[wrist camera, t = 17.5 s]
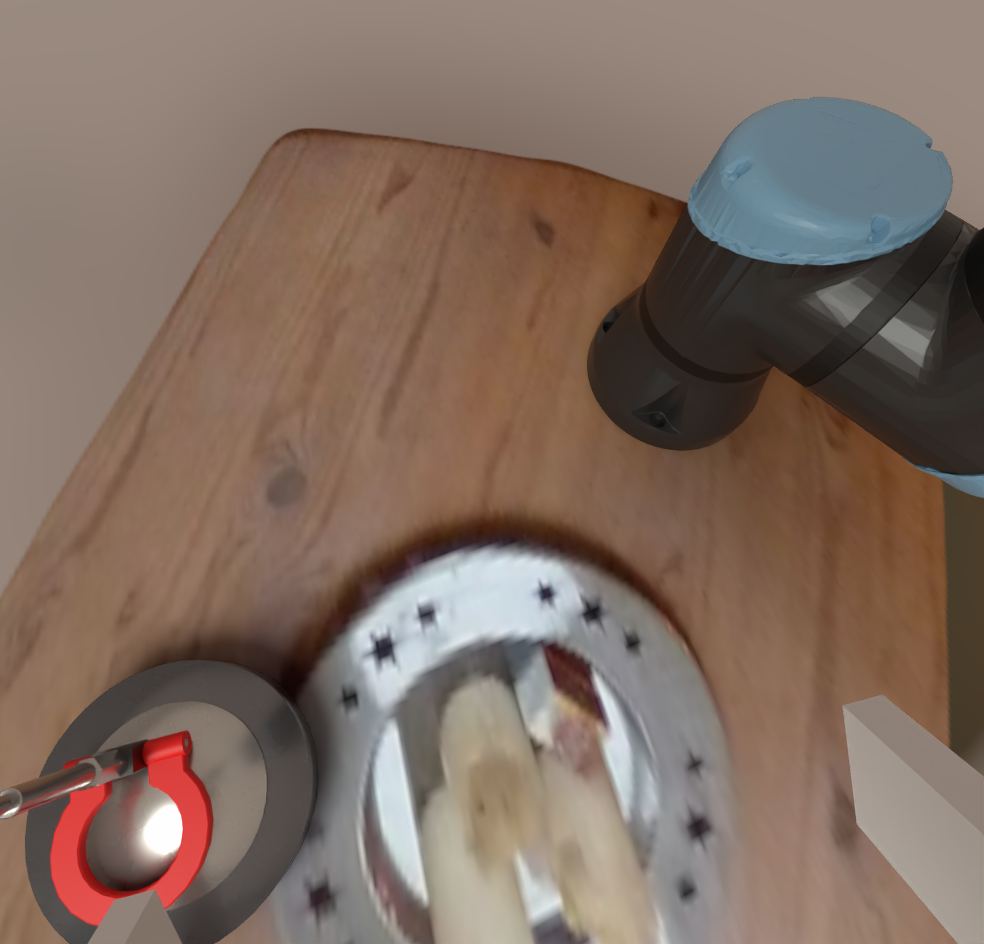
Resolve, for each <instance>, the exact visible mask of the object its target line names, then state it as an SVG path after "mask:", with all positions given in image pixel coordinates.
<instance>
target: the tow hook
mask: <svg viewBox="0 0 984 944" xmlns="http://www.w3.org/2000/svg"><path fill="white" fill-rule="evenodd" d="M191 747H192V739H191V735H190V733H189V731H188V730H185V731H181V732H178V733H174V734H170V735H166V736H162V737H159V738H155V739H151V740H148V739H145V740H141V741H137V742H133V743H130V744H126V745H122V746H118V747H114V748H111V749H108V750H105V751H101V752H98V753H95V754H93V755H90V756H87V757H83V758H79V759H75V760H72V761H68V762H67V763H66V764H65V765H64V767H63V770H61V771H58V772H55V773H52V774H49V775H46V776H43V777H40V778H37V779H34V780H31V781H28V782H25V783H22V784H19V785H16V786H13V787H10V788H7V789H4V790H2V791H1V792H0V819H8V818H11V817H13V816H16V815H18V814H21V813H23V812H25V811H28V810H30V809H33V808H35V807H38V806H40V805H43V804H45V803H47V802H50V801H52V800H55V799H57V798H60V797H62V796H65V795H67V794H70V803H69V804H68V805H67V807H66V808H65V810H64V811H63V813H62V816H61V818H60V820H59V823H58V825H57V827H56V830H55V832H54V836H53V842H52V847H51V853H50V864H51V878H52V881H53V883H54V886H55V889H56V891H57V894H58V897H59V898H60V900H61V901H62V902H63V904H64V905H65V906H66V907H67V909H68V910H69V911H70V912H71V913H72V914H73V915H75V916H76V917H78V918H80V919H81V920H83V921H84V922H86V923H88V924H91V925H95V926H99V924H100V923H101V921H102V920H103V918H104V916H105V915H106V913H107V911H108V910H109V908H110V907H111V905H112V903H113V902H114V900H117V899H120V898H124V897H128V896H132V895H135V894H139V893H143V892H147V891H150V890H154V889H155V890H156V892H157V894H158V896H159V898H160V900H161V902H162V904H163V906H164V908H165V909H166V908H168V907H169V906H171V905H172V904H173V903H174V902H175V901H176V900H177V899H178V898H179V897H180V895H181V894H182V893H183V892H184V891H185V890H186V889H187V888H188V887H189V886H190V885H191V884H192V882H193V881H194V879H195V877H196V876H197V874H198V872H199V871H200V869H201V868H202V866H203V864H204V862H205V859H206V856H207V853H208V850H209V847H210V845H211V841H212V832H213V823H214V819H213V812H212V805H211V799H210V797H209V795H208V793H207V790H206V788H205V786H204V783H203V782H202V781H201V780H200V779H199V777H198V776H197V775H196V774H195V773H194V772H193V770H192V769H190V768H189V759H188V754H189V753H190V751H191ZM145 768H148V776H149V784H150V785H151V786H152V787H154V788H158V789H159V790H161V791H163V792H164V793H166V794H168V795H169V796H170V798H171V799H172V800H173V801H174V802H175V804H176V805H177V808H178V810H179V813H180V815H181V821H182V837H181V844H180V847H179V850H178V852H177V855H176V858H175V859H174V861H173V863H172V864H171V866H170V867H169V869H168V871H167V872H166V873H165V874H164V875H163V876H162V877H161V878H160V879H159V880H157V881H156V882H154V883H152V884H151V885H149V886H147V887H144V888H141V889H138V890H135V891H118V890H114V889H110V888H108V887H107V886H105V885H103V884H102V883H100V882H99V881H98V880H97V879H96V877H95V876H94V875H93V874H92V872H91V870H90V867H89V865H88V862H87V858H86V840H87V834H88V830H89V828H90V826H91V823H92V821H93V818H94V817H95V815H96V814H97V812H98V811H99V809H100V808H101V806H102V805H103V804H104V803H105V802H106V801H107V800H108V799H110V797H111V795H112V793H113V790H112V780H113V779H117V778H121V777H125V776H128V775H131V774H134V773H136V772H138V771H141V770H143V769H145Z"/></svg>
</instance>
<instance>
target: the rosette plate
mask: <svg viewBox="0 0 984 944" xmlns="http://www.w3.org/2000/svg"><path fill="white" fill-rule="evenodd" d="M185 730H188V731H189V733H190V735H191V739H192V747H191V751H190V753H189V754H188V759H189V768H190V769H192V770H193V772H194V773H195V774H196V775H197V776H198V777H199V779H200V780H201V781H202V782H203V783H204V786H205V788H206V790H207V793H208V795H209V797H210V799H211V805H212V812H213V819H214V823H213V832H212V841H211V845H210V847H209V850H208V853H207V856H206V859H205V862H204V864H203V866H202V868H201V869H200V871H199V872H198V874H197V876H196V877H195V879H194V881H193V882H192V884H191V885H190V886H189V887H188V888H187V889H186V890H185V891H184V892H183V893H182V894H181V895H180V897H179V898H178V899H177V900H176V901H175V902H174V903H173V904H172V905H171V906H169V907H168V908H166V909H165V910H166V912H167V914H168V916H169V918H170V920H171V922H172V924H173V926H174V928H175V930H176V932H177V934H178V936H179V938H180V940H181V942H182V944H214V943H216V942H218V941H219V940H221V939H222V938H224V937H225V936H227V935H228V934H229V933H231V932H232V931H234V930H235V929H236V928H237V927H239V926H240V925H241V924H242V923H243V922H244V921H245V920H246V919H247V918H249V917H250V916H251V915H252V914H253V913H254V912H255V911H256V909H257V908H258V907H259V906H260V905H261V904H262V903H263V902H264V901H265V899H266V898H267V897H268V896H269V894H270V893H271V892H272V890H273V889H274V888H275V886H276V885H277V884H278V882H279V881H280V880H281V878H282V877H283V875H284V874H285V873H286V871H287V870H288V868H289V867H290V865H291V864H292V862H293V860H294V858H295V857H296V855H297V853H298V851H299V849H300V847H301V845H302V843H303V840H304V838H305V836H306V833H307V831H308V828H309V825H310V821H311V818H312V815H313V811H314V805H315V800H316V795H317V781H318V770H317V756H316V751H315V745H314V741H313V738H312V735H311V731H310V728H309V726H308V724H307V721H306V719H305V717H304V715H303V713H302V711H301V710H300V708H299V707H298V705H297V704H296V702H295V701H294V700H293V698H292V697H291V696H290V695H289V694H288V693H287V692H286V691H285V690H284V689H283V688H282V687H281V686H280V685H279V684H277V683H276V682H275V681H274V680H272V679H271V678H269V677H268V676H266V675H264V674H263V673H261V672H259V671H257V670H254V669H252V668H249V667H247V666H244V665H239V664H235V663H231V662H222V661H211V660H184V661H177V662H171V663H166V664H163V665H159V666H156V667H152V668H149V669H147V670H144V671H142V672H140V673H137V674H135V675H133V676H131V677H129V678H127V679H125V680H124V681H122V682H120V683H118V684H116V685H115V686H114V687H112V688H111V689H109V690H108V691H106V692H105V693H104V694H102V695H101V696H100V697H98V698H97V699H96V700H95V701H94V702H93V703H92V704H90V705H89V706H88V707H87V708H86V709H85V710H84V711H83V712H82V713H81V714H80V715H79V716H78V717H77V718H76V719H75V720H74V722H73V723H72V724H71V725H70V726H69V728H68V729H67V730H66V732H65V733H64V734H63V735H62V737H61V738H60V739H59V741H58V742H57V744H56V746H55V747H54V749H53V751H52V752H51V754H50V756H49V757H48V759H47V761H46V763H45V765H44V767H43V770H42V772H41V774H40V776H39V778H40V777H43V776H46V775H49V774H52V773H55V772H58V771H61V770H63V767H64V765H65V764H66V763H67V762H68V761H72V760H75V759H79V758H83V757H87V756H90V755H93V754H95V753H98V752H101V751H105V750H108V749H111V748H114V747H118V746H122V745H126V744H130V743H133V742H137V741H141V740H145V739H148V740H151V739H155V738H159V737H162V736H166V735H170V734H174V733H178V732H181V731H185ZM112 790H113V793H112V795H111V797H110V799H108V800H107V801H106V802H105V803H104V804H103V805H102V806H101V808H100V809H99V811H98V812H97V814H96V815H95V817H94V818H93V821H92V823H91V826H90V828H89V830H88V834H87V840H86V858H87V862H88V865H89V867H90V870H91V872H92V874H93V875H94V876H95V877H96V879H97V880H98V881H99V882H100V883H102V884H103V885H105V886H107V887H108V888H110V889H114V890H118V891H135V890H138V889H141V888H144V887H147V886H149V885H151V884H152V883H154V882H156V881H157V880H159V879H160V878H161V877H162V876H163V875H164V874H165V873H166V872H167V871H168V869H169V867H170V866H171V864H172V863H173V861H174V859H175V858H176V855H177V852H178V850H179V847H180V844H181V837H182V821H181V815H180V813H179V810H178V808H177V805H176V804H175V802H174V801H173V800H172V799H171V798H170V796H169V795H168V794H166V793H164V792H163V791H161V790H159V789H158V788H154V787H152V786H151V785H150V784H149V776H148V768H145V769H143V770H141V771H138V772H136V773H134V774H131V775H128V776H125V777H121V778H117V779H113V780H112ZM69 803H70V794H67V795H65V796H62V797H60V798H57V799H55V800H52V801H50V802H47V803H45V804H43V805H40V806H38V807H35V808H33V809H30V810H29V812H28V817H27V825H26V835H25V853H26V864H27V870H28V876H29V881H30V884H31V887H32V890H33V893H34V896H35V899H36V901H37V903H38V905H39V907H40V908H41V910H42V912H43V914H44V916H45V917H46V919H47V920H48V921H49V923H50V924H51V925H52V927H53V928H54V929H55V930H56V931H57V932H58V933H59V934H60V935H61V936H62V937H63V938H64V939H65V940H66V941H67V942H68V943H70V944H88V942H89V941H90V939H91V937H92V936H93V934H94V932H95V931H96V929H97V928H98V926H95V925H91V924H88V923H86V922H84V921H83V920H81V919H80V918H78V917H76V916H75V915H73V914H72V913H71V912H70V911H69V910H68V909H67V907H66V906H65V905H64V904H63V902H62V901H61V900H60V898H59V897H58V894H57V891H56V889H55V886H54V883H53V881H52V878H51V864H50V853H51V847H52V842H53V836H54V832H55V830H56V827H57V825H58V823H59V820H60V818H61V816H62V813H63V811H64V810H65V808H66V807H67V805H68V804H69Z"/></svg>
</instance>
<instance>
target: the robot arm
mask: <svg viewBox="0 0 984 944" xmlns="http://www.w3.org/2000/svg"><path fill="white" fill-rule="evenodd" d="M931 145H932V139H931V138H930V137H929V136H928V135H927V134H926V133H924V132H923V131H922V130H921V129H919V128H918V127H917V126H915V125H914V124H912V123H910V122H908V121H907V120H906V119H904V118H902V117H900V116H898V115H896V114H894V113H891V112H889V111H887V110H885V109H882V108H879V107H876V106H873V105H870V104H866V103H862V102H859V101H854V100H847V99H840V98H830V97H813V98H810V99H794V100H788V101H784V102H780V103H777V104H774V105H771V106H769V107H766V108H764V109H762V110H760V111H758V112H756V113H754V114H752V115H751V116H749V117H748V118H746V119H745V120H744V121H743V122H741V123H740V124H739V125H738V126H737V127H736V128H735V129H734V130H733V131H732V132H731V133H730V134H729V136H728V137H727V138H726V139H725V141H724V142H723V144H722V145H721V147H720V148H719V150H718V152H717V153H716V155H715V157H714V158H713V160H712V161H711V163H710V164H709V166H708V168H707V169H706V171H705V172H704V173H703V174H702V175H701V176H700V177H699V178H698V179H697V181H696V182H695V184H694V186H693V188H692V190H691V195H690V197H689V199H688V203H687V205H686V207H685V209H684V211H683V212H682V214H681V216H680V218H679V220H678V222H677V224H676V226H675V227H674V229H673V231H672V233H671V235H670V237H669V239H668V241H667V243H666V244H665V246H664V248H663V250H662V252H661V254H660V256H659V258H658V259H657V261H656V263H655V265H654V267H653V269H652V271H651V273H650V275H649V276H648V278H647V280H646V282H645V283H644V284H643V285H641V286H640V287H639V288H637V289H636V290H635V291H634V292H632V293H631V294H630V295H628V296H627V297H626V298H625V299H623V300H622V301H621V302H620V303H618V304H617V305H616V306H615V307H613V308H612V309H611V310H610V312H609V313H608V314H607V315H606V316H605V318H604V319H603V321H602V322H601V324H600V326H599V327H598V330H597V332H596V334H595V336H594V338H593V340H592V342H591V345H590V348H589V352H588V360H587V369H588V377H589V381H590V385H591V388H592V391H593V393H594V395H595V397H596V399H597V401H598V403H599V404H600V406H601V408H602V409H603V410H604V412H605V413H606V414H607V415H608V417H609V418H610V419H611V420H612V421H613V422H614V423H615V424H616V425H618V426H619V427H620V428H621V429H622V430H624V431H625V432H627V433H628V434H630V435H631V436H633V437H635V438H637V439H638V440H640V441H643V442H645V443H647V444H650V445H653V446H656V447H660V448H664V449H670V450H693V449H699V448H703V447H707V446H709V445H712V444H714V443H716V442H718V441H720V440H722V439H723V438H725V437H726V436H727V435H728V434H730V433H731V432H732V431H733V430H735V429H736V428H737V427H738V426H739V425H740V424H742V423H743V422H744V420H745V419H746V418H747V417H748V416H749V414H750V413H751V412H752V410H753V408H754V407H755V405H756V402H757V400H758V397H759V394H760V392H761V390H762V387H763V385H764V383H765V381H766V379H767V376H768V374H769V372H770V369H771V368H772V367H773V366H775V367H776V368H778V369H779V370H780V371H782V372H783V373H785V374H787V375H788V376H790V377H791V378H792V379H794V380H795V381H797V382H798V383H800V384H801V385H802V386H804V387H805V388H807V389H808V390H810V391H811V392H812V393H814V394H815V395H817V396H818V397H820V398H821V399H822V400H824V401H825V402H827V403H828V404H829V405H831V406H832V407H834V408H835V409H836V410H838V411H839V412H841V413H842V414H843V415H845V416H846V417H848V418H849V419H851V420H852V421H853V422H855V423H856V424H858V425H859V426H860V427H862V428H863V429H865V430H866V431H867V432H869V433H870V434H872V435H873V436H874V437H876V438H877V439H879V440H880V441H882V442H883V443H884V444H886V445H887V446H889V447H890V448H891V449H893V450H894V451H896V452H897V453H898V454H900V455H901V456H903V458H904V459H905V460H906V461H907V462H909V463H911V464H913V465H914V466H915V467H916V468H918V469H920V470H922V471H924V472H926V473H929V474H932V475H934V476H936V477H938V478H940V479H941V480H943V481H945V482H946V483H948V484H950V485H951V486H953V487H955V488H957V489H958V490H961V491H963V492H965V493H968V494H971V495H974V496H978V497H983V498H984V228H983V229H981V230H978V229H977V228H975V227H973V226H972V225H970V224H968V223H967V222H965V221H964V220H962V219H960V218H958V217H956V216H955V215H953V214H952V213H950V212H948V211H947V210H945V208H946V205H947V202H948V200H949V197H950V195H951V191H952V183H953V180H952V172H951V168H950V166H949V164H948V161H947V159H946V157H945V156H944V154H943V153H942V152H940V151H935V150H932V149H930V148H931ZM843 712H844V720H845V729H846V737H847V745H848V754H849V762H850V770H851V778H852V787H853V795H854V803H855V812H856V820H857V825H858V826H859V827H860V828H861V829H862V830H863V832H864V833H865V834H866V835H867V836H868V838H869V839H870V840H871V841H872V842H873V844H874V845H875V846H876V847H877V848H878V849H879V851H880V852H881V853H882V854H883V855H884V857H885V858H886V859H887V860H888V861H889V862H890V864H891V865H892V866H893V867H894V868H895V870H896V871H897V872H898V873H899V874H900V875H901V877H902V878H903V879H904V880H905V881H906V883H907V884H908V885H909V886H910V887H911V888H912V890H913V891H914V892H915V893H916V894H917V896H918V897H919V898H920V899H921V900H922V901H923V903H924V904H925V905H926V906H927V907H928V909H929V910H930V911H931V912H932V913H933V914H934V916H935V917H936V918H937V919H938V920H939V922H940V923H941V924H942V925H943V926H944V927H945V929H946V930H947V931H948V932H949V933H950V935H951V936H952V937H953V938H954V939H955V941H956V942H957V943H958V944H984V777H983V776H982V775H981V774H980V773H978V772H977V771H976V770H975V769H973V768H972V767H971V766H970V765H968V764H967V763H966V762H965V761H964V760H962V759H961V758H960V757H959V756H957V755H956V754H955V753H954V752H952V751H951V750H950V749H949V748H948V747H946V746H945V745H944V744H943V743H941V742H940V741H939V740H938V739H936V738H935V737H934V736H933V735H932V734H930V733H929V732H928V731H927V730H925V729H924V728H923V727H922V726H920V725H919V724H918V723H917V722H915V721H914V720H913V719H912V718H911V717H909V716H908V715H907V714H906V713H904V712H903V711H902V710H901V709H899V708H898V707H897V706H896V705H894V704H893V703H892V702H891V701H890V700H888V699H887V698H886V697H885V696H883V695H879V696H876V697H872V698H868V699H865V700H861V701H857V702H853V703H850V704H846V705H843ZM88 944H182V942H181V940H180V938H179V936H178V934H177V932H176V930H175V928H174V926H173V924H172V922H171V920H170V918H169V916H168V914H167V912H166V910H165V908H164V906H163V904H162V902H161V900H160V898H159V896H158V894H157V892H156V890H155V889H154V890H150V891H147V892H143V893H139V894H135V895H132V896H128V897H124V898H120V899H117V900H114V902H113V903H112V905H111V907H110V908H109V910H108V911H107V913H106V915H105V916H104V918H103V920H102V921H101V923H100V924H99V926H98V928H97V929H96V931H95V932H94V934H93V936H92V937H91V939H90V941H89V942H88Z"/></svg>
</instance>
